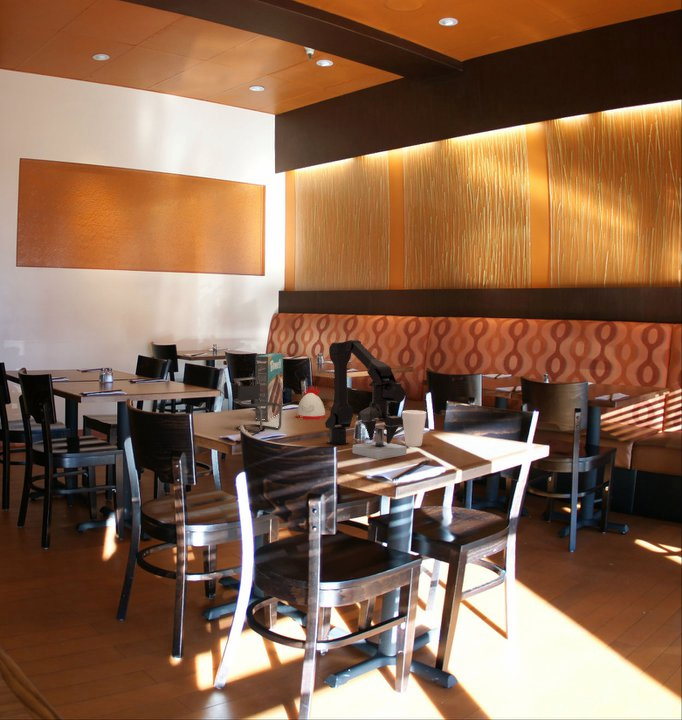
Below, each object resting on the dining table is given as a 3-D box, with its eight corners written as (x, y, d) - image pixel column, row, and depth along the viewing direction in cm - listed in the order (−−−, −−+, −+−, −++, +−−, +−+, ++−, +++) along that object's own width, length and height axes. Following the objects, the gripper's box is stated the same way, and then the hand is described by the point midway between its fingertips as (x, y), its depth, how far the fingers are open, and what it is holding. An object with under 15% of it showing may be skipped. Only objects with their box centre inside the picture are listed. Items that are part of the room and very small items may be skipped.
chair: (253, 425, 339) (253, 376, 337) (282, 430, 328) (282, 379, 327) (231, 429, 329) (232, 378, 327) (260, 434, 318) (261, 381, 317)
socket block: (352, 453, 282) (352, 445, 281) (380, 448, 291) (380, 440, 290) (378, 459, 271) (378, 451, 271) (406, 454, 280) (406, 446, 280)
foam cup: (397, 443, 302) (398, 410, 301) (418, 442, 305) (419, 409, 304) (408, 447, 293) (408, 414, 292) (429, 446, 297) (430, 413, 296)
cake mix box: (267, 422, 350) (268, 356, 348) (255, 421, 352) (255, 356, 349) (282, 415, 372) (282, 353, 369) (270, 414, 373) (271, 353, 371)
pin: (373, 453, 281) (374, 428, 280) (379, 452, 283) (380, 427, 282) (379, 455, 279) (379, 429, 278) (385, 454, 281) (385, 428, 280)
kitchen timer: (321, 420, 358) (321, 388, 357) (292, 418, 361) (293, 387, 360) (328, 416, 372) (328, 385, 370) (301, 414, 375) (301, 384, 374)
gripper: (347, 398, 281) (346, 440, 282) (381, 404, 267) (381, 448, 268) (369, 396, 288) (368, 437, 289) (404, 401, 274) (403, 444, 275)
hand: (379, 441), depth 280 cm, fingers open, 9 cm apart
